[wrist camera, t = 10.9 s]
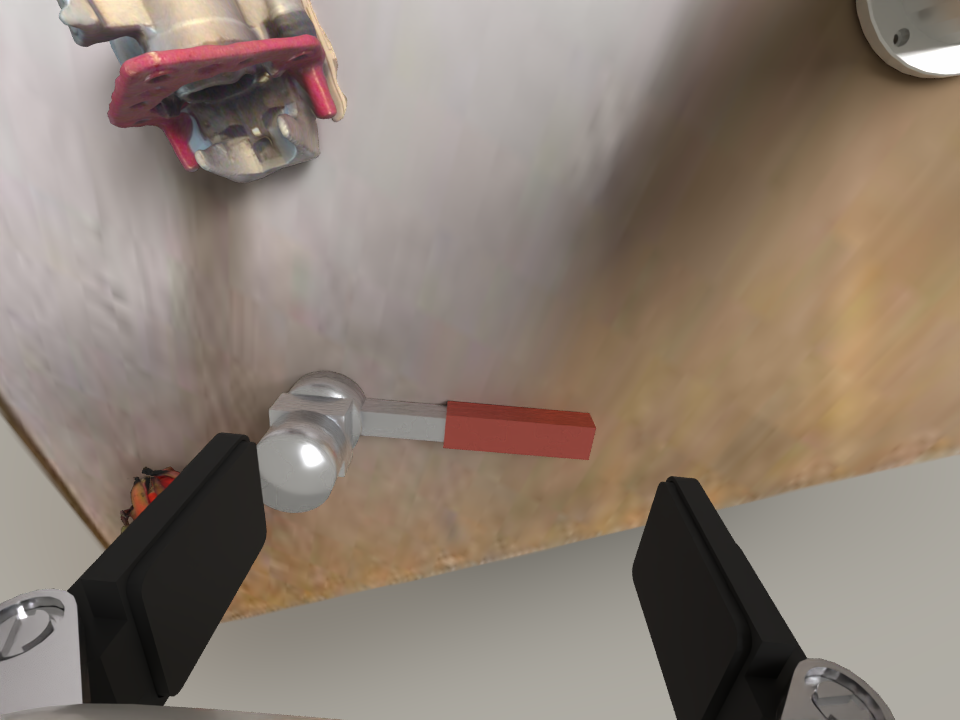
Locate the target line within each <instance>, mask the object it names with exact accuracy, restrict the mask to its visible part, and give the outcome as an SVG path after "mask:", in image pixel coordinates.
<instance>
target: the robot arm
mask: <svg viewBox="0 0 960 720" xmlns="http://www.w3.org/2000/svg"><path fill="white" fill-rule="evenodd" d="M856 7H857V14H858V17H859V20H860V24H861V27H862V30H863V33H864V35H865V37H866V38H867V40H868V42H869V43H870V45H871V47H872V49H873V50H874V51H875V52H876V53H877V54H878V55H879V56H880V57H881V58H882V59H883V60H884V61H885V62H886V63H887V64H888V65H890V66H891V67H893V68H895V69H897V70H899V71H900V72H902V73H905V74H908V75H912V76H916V77H920V78H945V77H951V76H958V75H960V0H856ZM266 533H267V531H266V521H265V513H264V504H263V496H262V487H261V479H260V471H259V462H258V454H257V447H256V444H255V443H254V442H250V440H249V438H248V436H246V435H241V434H231V433H218V434H217V435H216V436H215V437H214V438H213V439H212V440H211V441H210V442H209V443H208V444H207V445H206V446H205V447H204V448H203V450H202V451H201V452H200V453H199V454H198V455H197V456H196V457H195V458H194V459H193V460H192V461H191V462H190V463H189V464H188V465H187V466H186V467H185V469H184V470H183V471H182V472H181V473H180V474H179V475H178V476H177V477H176V478H175V479H174V480H173V481H172V482H171V483H170V484H169V485H168V487H167V488H166V489H165V490H164V491H162V492H161V493H160V494H159V495H158V496H157V497H156V498H155V499H154V500H153V501H152V502H151V503H150V504H149V505H148V506H147V507H146V508H145V509H144V510H143V511H142V513H141V514H140V515H139V516H138V517H137V518H136V519H135V520H134V521H133V522H132V523H131V524H130V525H129V526H128V527H127V528H126V529H125V530H124V531H123V533H122V534H121V535H120V536H119V537H118V538H117V539H116V540H115V541H114V542H113V543H112V544H111V545H110V546H109V547H108V548H107V549H106V550H105V551H104V553H103V554H102V555H101V556H100V557H99V558H98V559H97V560H96V561H95V562H94V563H93V564H92V565H91V566H90V567H89V568H88V569H87V570H86V572H85V573H84V574H83V575H82V576H81V577H80V578H79V579H78V580H77V581H76V582H75V583H74V584H73V585H72V586H71V587H70V588H69V589H68V590H67V591H65V590H59V589H42V590H36V591H32V592H29V593H25V594H21V595H18V596H16V597H14V598H12V599H9V600H7V601H5V602H3V603H1V604H0V720H340V719H326V718H315V717H302V716H291V715H279V714H265V713H254V712H242V711H230V710H217V709H201V708H186V707H170V706H164V704H165V702H166V701H167V699H168V697H169V696H175V695H176V694H178V693H179V692H180V690H181V689H182V687H183V686H184V684H185V682H186V680H187V679H188V677H189V675H190V673H191V671H192V670H193V668H194V666H195V664H196V663H197V661H198V659H199V657H200V656H201V654H202V652H203V651H204V649H205V647H206V645H207V644H208V642H209V640H210V638H211V636H212V635H213V633H214V631H215V629H216V628H217V626H218V624H219V623H220V621H221V619H222V617H223V616H224V614H225V612H226V610H227V609H228V607H229V605H230V603H231V602H232V600H233V598H234V596H235V595H236V593H237V591H238V589H239V587H240V586H241V584H242V582H243V580H244V579H245V577H246V575H247V573H248V572H249V570H250V568H251V566H252V565H253V563H254V561H255V559H256V558H257V556H258V554H259V552H260V551H261V549H262V547H263V545H264V542H265V539H266ZM632 576H633V581H634V585H635V588H636V591H637V594H638V597H639V601H640V604H641V607H642V610H643V613H644V616H645V619H646V623H647V626H648V629H649V632H650V635H651V638H652V642H653V645H654V648H655V651H656V654H657V658H658V661H659V664H660V667H661V670H662V673H663V677H664V680H665V683H666V686H667V689H668V692H669V696H670V699H671V702H672V705H673V708H674V711H675V715H676V718H677V720H895V718H894V716H893V714H892V712H891V711H890V709H889V707H888V706H887V705H886V703H885V702H884V701H883V699H882V698H881V697H880V696H879V694H877V692H876V691H874V690H873V689H872V688H871V687H870V686H869V685H868V684H867V683H866V682H865V681H864V680H862V679H861V678H860V677H858V676H857V675H855V674H854V673H853V672H851V671H850V670H848V669H846V668H844V667H842V666H840V665H838V664H836V663H834V662H831V661H827V660H824V659H820V658H818V659H817V658H815V659H814V658H808V659H807V657H806V656H805V654H804V652H803V651H802V649H801V647H800V646H799V644H798V642H797V641H796V639H795V638H794V636H793V634H792V632H791V631H790V629H789V627H788V626H787V624H786V623H785V621H784V619H783V618H782V616H781V614H780V613H779V611H778V610H777V608H776V606H775V604H774V603H773V601H772V599H771V598H770V596H769V595H768V593H767V591H766V589H765V588H764V586H763V584H762V583H761V581H760V580H759V578H758V576H757V575H756V573H755V571H754V570H753V568H752V566H751V565H750V563H749V561H748V560H747V558H746V556H745V555H744V553H743V551H742V550H741V549H740V547H739V546H738V545H737V544H736V543H735V541H734V539H733V538H732V536H731V534H730V533H729V531H728V530H727V528H726V526H725V525H724V523H723V521H722V520H721V518H720V516H719V515H718V513H717V511H716V510H715V508H714V506H713V505H712V503H711V501H710V500H709V498H708V496H707V495H706V493H705V491H704V490H703V488H702V486H701V485H700V483H699V482H698V480H696V479H694V478H684V477H674V476H671V477H669V478H668V479H667V480H666V482H660V484H659V485H658V488H657V491H656V494H655V497H654V501H653V504H652V507H651V510H650V513H649V516H648V519H647V522H646V526H645V529H644V532H643V535H642V538H641V541H640V545H639V547H638V551H637V554H636V557H635V560H634V563H633V568H632Z"/></svg>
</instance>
